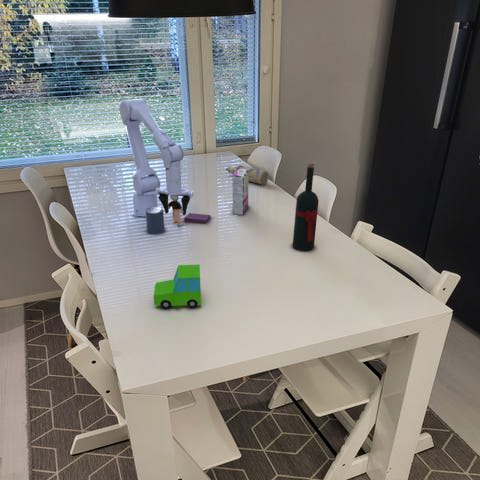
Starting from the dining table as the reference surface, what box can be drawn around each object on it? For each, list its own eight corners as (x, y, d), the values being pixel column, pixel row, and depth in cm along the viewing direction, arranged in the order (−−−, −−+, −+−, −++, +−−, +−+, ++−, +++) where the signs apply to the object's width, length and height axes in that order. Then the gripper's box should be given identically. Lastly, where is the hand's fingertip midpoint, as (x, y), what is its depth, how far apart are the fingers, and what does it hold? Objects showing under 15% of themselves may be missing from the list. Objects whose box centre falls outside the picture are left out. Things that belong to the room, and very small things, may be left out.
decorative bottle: (269, 183, 243) (269, 169, 239) (259, 186, 238) (260, 172, 234) (232, 172, 257) (232, 160, 254) (222, 175, 253) (222, 162, 249)
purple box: (184, 221, 196) (184, 218, 195) (189, 215, 202) (189, 212, 201) (205, 223, 194) (205, 220, 194) (210, 217, 200) (210, 214, 199)
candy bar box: (237, 205, 213) (237, 168, 204) (248, 206, 212) (249, 169, 204) (231, 214, 204) (232, 175, 195) (243, 215, 203) (244, 176, 194)
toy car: (156, 294, 145) (153, 264, 140) (200, 292, 146) (199, 262, 141) (154, 311, 136) (151, 280, 131) (201, 310, 137) (200, 279, 132)
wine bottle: (299, 255, 170) (306, 169, 154) (289, 243, 179) (295, 161, 163) (319, 253, 172) (329, 167, 156) (309, 241, 181) (317, 160, 164)
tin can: (144, 233, 185) (142, 212, 180) (151, 227, 190) (149, 206, 186) (161, 235, 184) (159, 213, 179) (166, 228, 189) (165, 207, 185)
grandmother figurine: (188, 222, 192) (185, 191, 184) (183, 226, 189) (180, 195, 181) (171, 219, 194) (168, 189, 187) (166, 223, 191) (162, 192, 184)
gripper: (151, 180, 180) (154, 215, 188) (188, 183, 178) (190, 218, 185) (158, 175, 186) (160, 209, 193) (194, 178, 184) (195, 212, 191)
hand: (175, 213), depth 190 cm, fingers closed on grandmother figurine, 6 cm apart
